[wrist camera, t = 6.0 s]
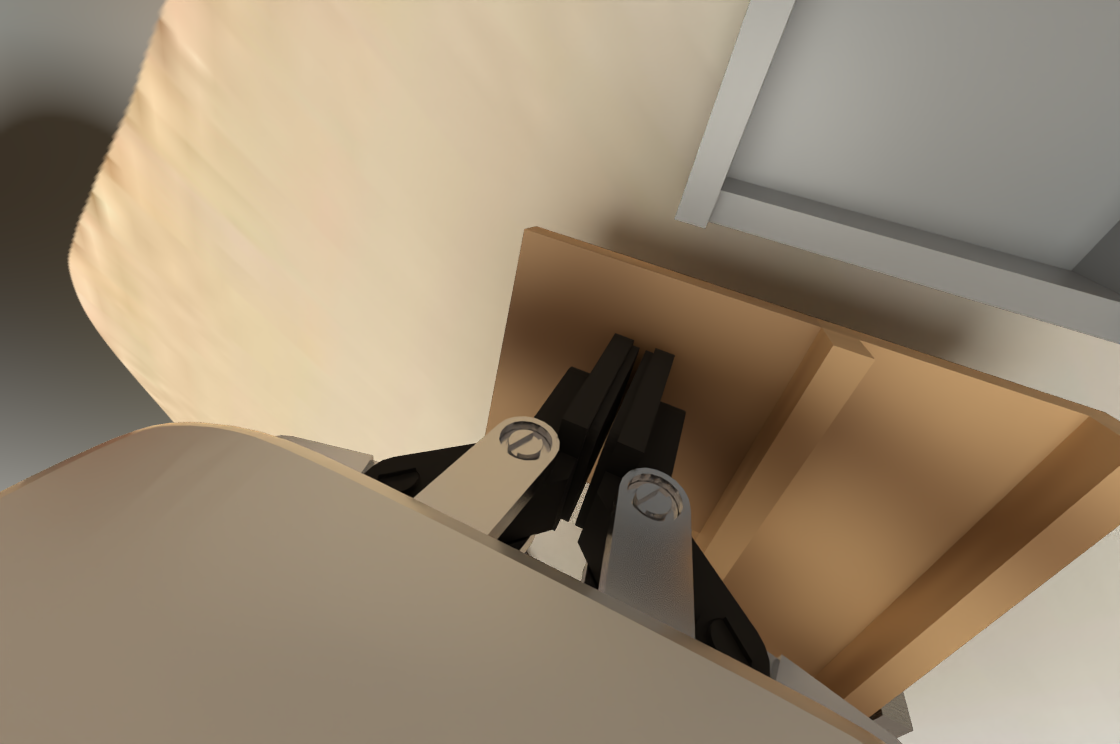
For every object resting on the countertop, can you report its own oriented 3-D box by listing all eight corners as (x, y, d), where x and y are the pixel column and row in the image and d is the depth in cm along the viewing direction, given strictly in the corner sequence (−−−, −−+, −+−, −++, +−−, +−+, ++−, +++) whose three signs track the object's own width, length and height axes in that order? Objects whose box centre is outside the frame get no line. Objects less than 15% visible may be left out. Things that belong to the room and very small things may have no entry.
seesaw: (703, 739, 21) (698, 848, 18) (470, 612, 24) (427, 684, 20) (1044, 375, 11) (1194, 466, 7) (560, 220, 13) (503, 234, 10)
